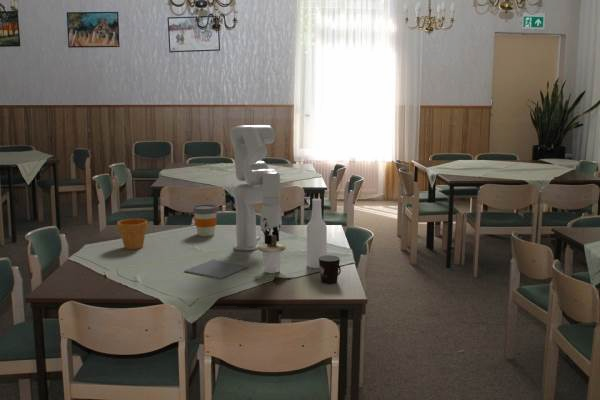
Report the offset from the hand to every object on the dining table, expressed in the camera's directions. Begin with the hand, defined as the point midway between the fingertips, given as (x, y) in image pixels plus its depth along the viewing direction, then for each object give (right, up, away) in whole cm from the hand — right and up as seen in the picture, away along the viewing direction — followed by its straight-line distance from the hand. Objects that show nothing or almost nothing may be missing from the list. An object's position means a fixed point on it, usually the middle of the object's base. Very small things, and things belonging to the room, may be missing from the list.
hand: (271, 242), depth 266 cm
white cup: (0, -13, +2) cm, 13 cm away
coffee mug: (+24, -16, -14) cm, 32 cm away
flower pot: (-70, -6, +42) cm, 82 cm away
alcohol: (+19, -11, +9) cm, 24 cm away
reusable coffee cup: (-38, -1, +68) cm, 78 cm away
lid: (0, -3, +1) cm, 3 cm away
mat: (-24, -12, +5) cm, 27 cm away
